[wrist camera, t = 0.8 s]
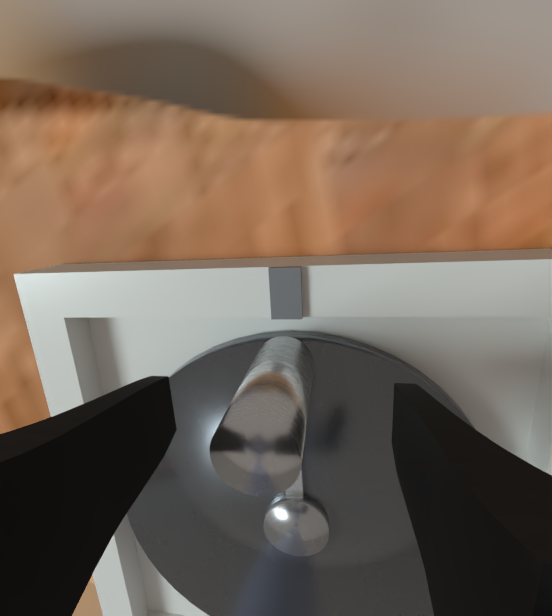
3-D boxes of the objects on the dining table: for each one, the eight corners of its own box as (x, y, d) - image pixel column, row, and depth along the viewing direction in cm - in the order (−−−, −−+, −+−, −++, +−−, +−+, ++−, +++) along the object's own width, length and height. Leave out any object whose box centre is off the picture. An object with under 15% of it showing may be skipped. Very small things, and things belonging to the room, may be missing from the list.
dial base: (514, 661, 20) (545, 739, 17) (137, 604, 24) (110, 658, 21) (595, 246, 14) (668, 257, 11) (62, 264, 18) (7, 275, 15)
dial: (479, 648, 18) (559, 893, 12) (163, 607, 21) (89, 780, 15) (516, 321, 13) (689, 427, 7) (101, 330, 16) (-49, 409, 10)
